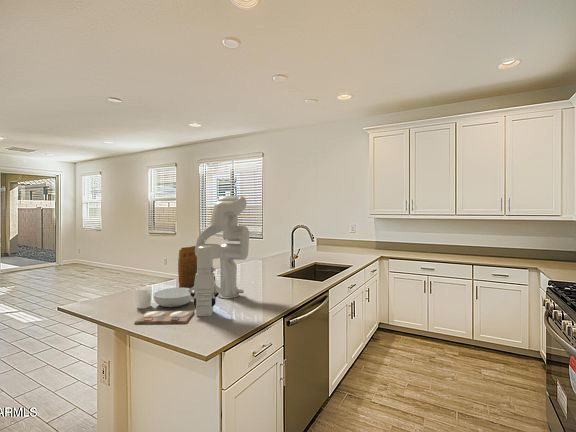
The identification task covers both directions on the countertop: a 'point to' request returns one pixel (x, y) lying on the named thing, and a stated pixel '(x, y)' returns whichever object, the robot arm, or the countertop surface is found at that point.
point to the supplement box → (204, 303)
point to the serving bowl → (172, 297)
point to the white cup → (143, 296)
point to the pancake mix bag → (187, 267)
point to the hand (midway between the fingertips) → (204, 305)
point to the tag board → (165, 317)
